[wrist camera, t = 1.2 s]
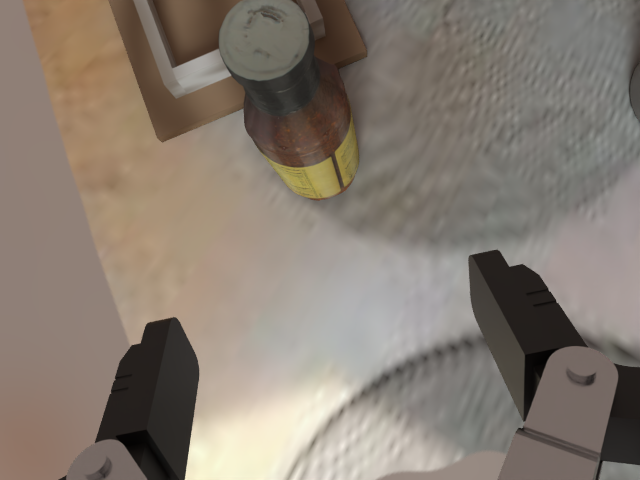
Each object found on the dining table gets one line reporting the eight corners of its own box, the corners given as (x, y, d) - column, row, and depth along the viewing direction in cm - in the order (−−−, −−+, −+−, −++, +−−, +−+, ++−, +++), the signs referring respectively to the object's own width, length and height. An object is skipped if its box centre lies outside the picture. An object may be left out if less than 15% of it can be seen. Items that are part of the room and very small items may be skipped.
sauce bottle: (328, 112, 42) (291, -71, 23) (375, 172, 41) (380, 32, 22) (262, 161, 42) (168, 18, 23) (308, 222, 41) (250, 128, 22)
